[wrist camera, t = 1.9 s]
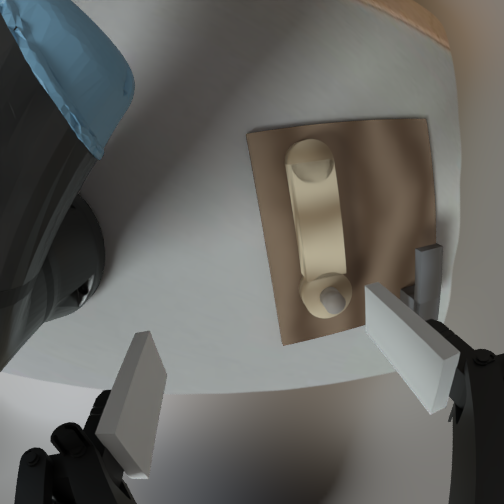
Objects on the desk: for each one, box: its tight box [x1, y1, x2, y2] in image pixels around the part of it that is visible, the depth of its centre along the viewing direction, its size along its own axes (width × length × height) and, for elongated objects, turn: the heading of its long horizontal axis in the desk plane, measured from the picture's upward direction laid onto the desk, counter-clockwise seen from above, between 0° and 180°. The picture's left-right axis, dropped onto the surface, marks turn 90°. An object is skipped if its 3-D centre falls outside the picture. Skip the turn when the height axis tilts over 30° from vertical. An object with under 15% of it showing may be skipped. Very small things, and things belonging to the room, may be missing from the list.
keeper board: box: [246, 119, 443, 346], centre depth 30 cm, size 20×23×5 cm
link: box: [285, 139, 352, 318], centre depth 28 cm, size 18×5×4 cm, turn 10°
